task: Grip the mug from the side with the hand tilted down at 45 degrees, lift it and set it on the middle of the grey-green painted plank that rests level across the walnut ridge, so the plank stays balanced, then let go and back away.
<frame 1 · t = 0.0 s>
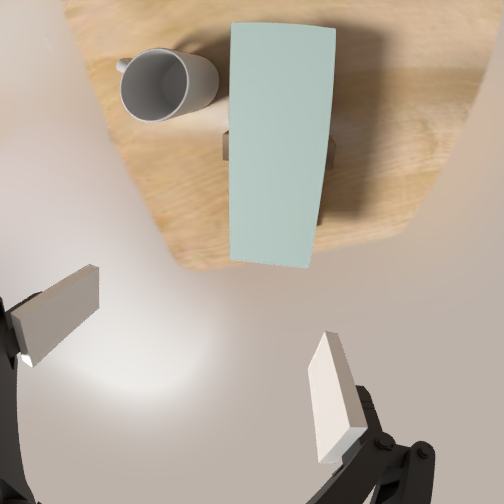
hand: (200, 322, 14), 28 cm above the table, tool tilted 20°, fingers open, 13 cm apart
plank: (277, 152, 27), point 9 cm above the table, hinge at 0.0°
fulcrum stand: (281, 137, 34), on the table
mug: (180, 78, 31), on the table
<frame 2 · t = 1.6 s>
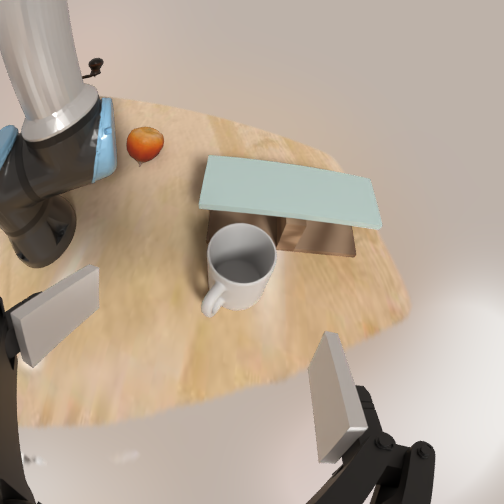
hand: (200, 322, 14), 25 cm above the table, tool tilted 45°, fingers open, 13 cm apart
plank: (295, 189, 41), point 9 cm above the table, hinge at 0.0°
fruit: (147, 155, 53), on the table
fulcrum stand: (283, 220, 49), on the table
mug: (229, 293, 41), on the table
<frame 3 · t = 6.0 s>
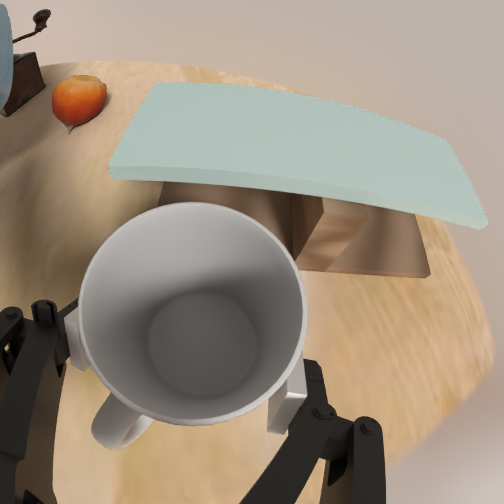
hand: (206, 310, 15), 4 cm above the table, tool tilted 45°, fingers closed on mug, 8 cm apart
plank: (335, 140, 17), point 9 cm above the table, hinge at 0.0°
manual coffee grinder: (29, 93, 34), on the table
fruit: (84, 118, 29), on the table
fulcrum stand: (303, 211, 25), on the table
mug: (189, 365, 18), on the table, touching gripper
when the fingers open (15 cm above the table, at t = 10.5 s): mug drops 1 cm, resting on plank.
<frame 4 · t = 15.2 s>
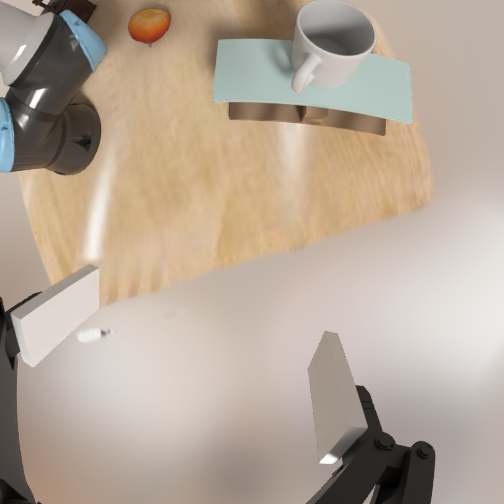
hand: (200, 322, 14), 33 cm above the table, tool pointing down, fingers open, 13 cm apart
plank: (318, 73, 30), point 9 cm above the table, hinge at -0.2°, touching mug
manual coffee grinder: (80, 14, 34), on the table
fruit: (156, 32, 36), on the table
fulcrum stand: (310, 91, 38), on the table
mug: (315, 71, 30), point 9 cm above the table, touching plank
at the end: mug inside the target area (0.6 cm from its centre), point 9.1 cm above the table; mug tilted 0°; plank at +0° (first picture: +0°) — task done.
